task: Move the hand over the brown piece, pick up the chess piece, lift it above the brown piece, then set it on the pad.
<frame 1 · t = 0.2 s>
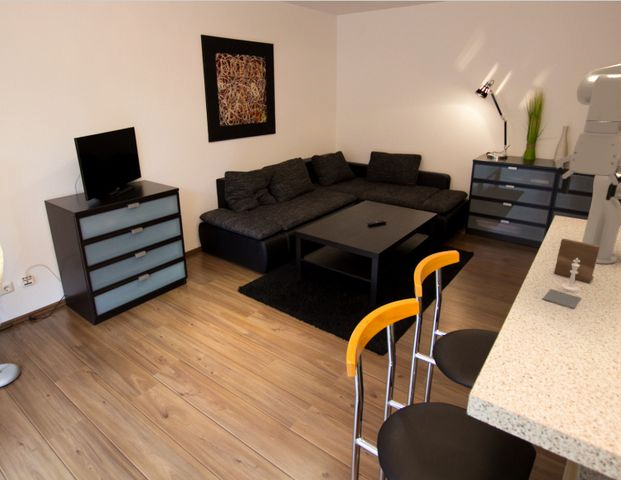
hand: (586, 196, 106), 30 cm above the bar counter, fingers open, 9 cm apart
pad: (561, 299, 117), on the bar counter
chess piece: (569, 289, 123), on the bar counter
brown piece: (571, 278, 130), on the bar counter
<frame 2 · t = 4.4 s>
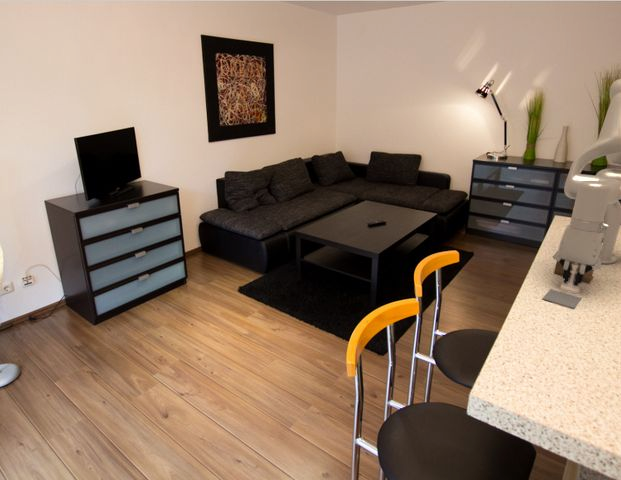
hand: (571, 282, 122), 2 cm above the bar counter, fingers closed on chess piece
chess piece: (569, 289, 123), on the bar counter, touching gripper
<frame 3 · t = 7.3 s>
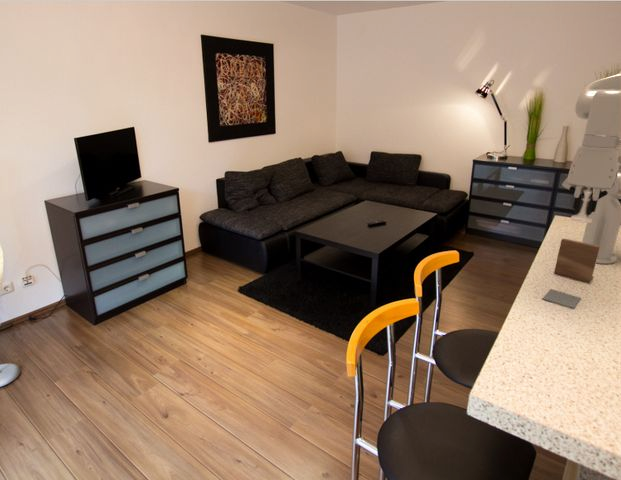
hand: (583, 212, 109), 26 cm above the bar counter, fingers closed on chess piece
chess piece: (581, 220, 110), point 23 cm above the bar counter, touching gripper
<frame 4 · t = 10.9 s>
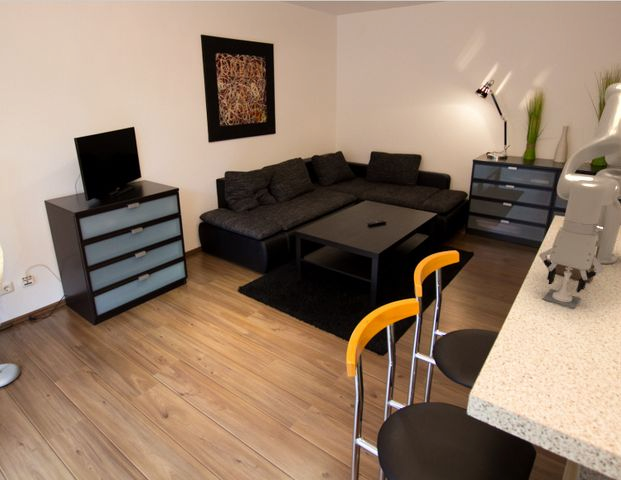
hand: (564, 286, 116), 4 cm above the bar counter, fingers open, 6 cm apart
chess piece: (561, 298, 117), resting on pad
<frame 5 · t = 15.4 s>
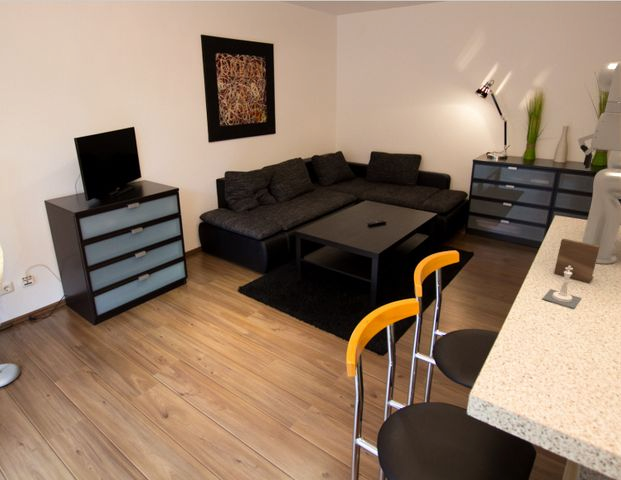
hand: (606, 170, 119), 34 cm above the bar counter, fingers open, 9 cm apart
nothing on the bar counter moved.
at the end: chess piece inside the target area on the pad (0.1 cm from its centre), point 0.2 cm above the pad's base; chess piece tilted 0°; the gripper is holding nothing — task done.
